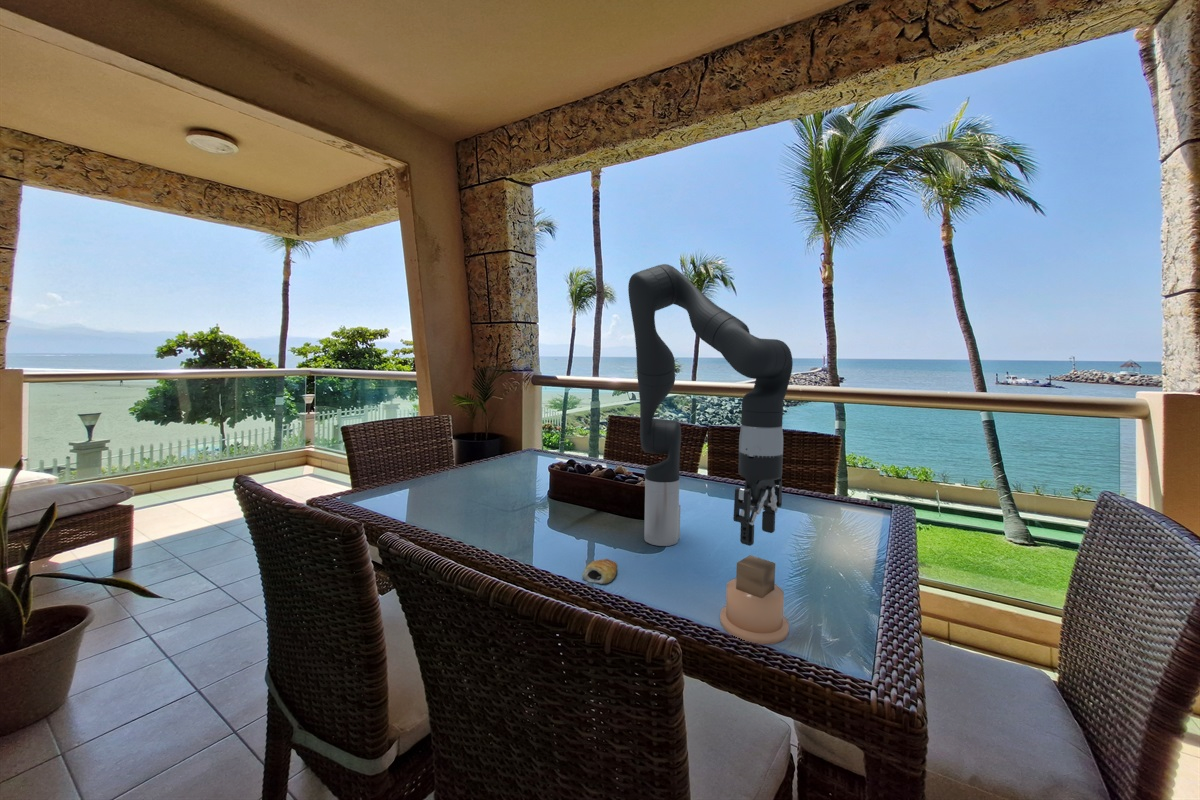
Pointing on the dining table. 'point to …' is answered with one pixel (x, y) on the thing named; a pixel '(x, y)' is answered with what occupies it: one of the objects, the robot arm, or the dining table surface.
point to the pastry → (600, 571)
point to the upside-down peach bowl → (754, 615)
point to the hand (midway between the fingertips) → (757, 537)
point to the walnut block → (755, 576)
